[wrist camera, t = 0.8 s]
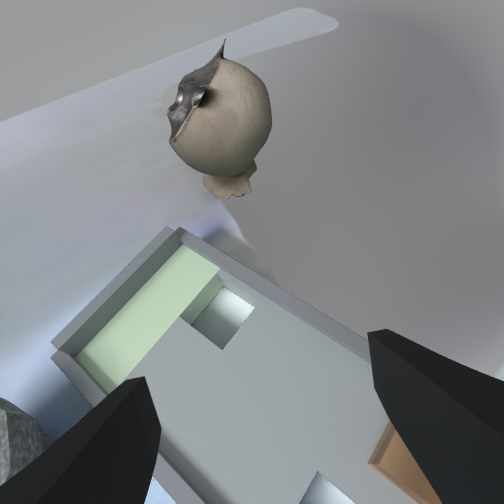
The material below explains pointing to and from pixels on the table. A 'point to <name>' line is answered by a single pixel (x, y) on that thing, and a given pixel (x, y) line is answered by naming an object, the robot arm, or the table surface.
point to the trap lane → (232, 380)
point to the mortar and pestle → (18, 440)
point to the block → (401, 467)
